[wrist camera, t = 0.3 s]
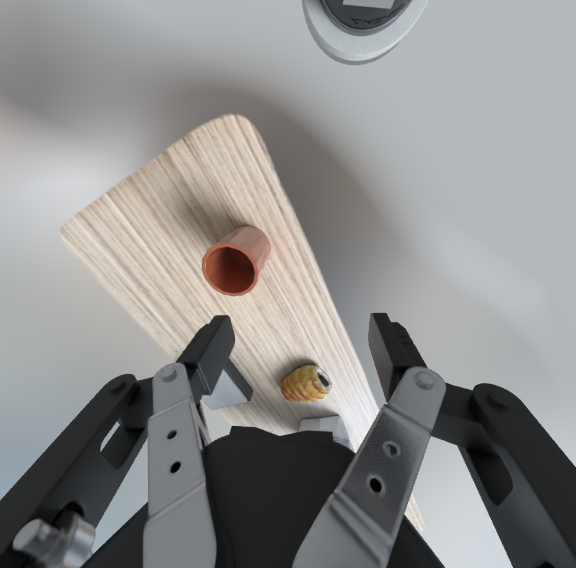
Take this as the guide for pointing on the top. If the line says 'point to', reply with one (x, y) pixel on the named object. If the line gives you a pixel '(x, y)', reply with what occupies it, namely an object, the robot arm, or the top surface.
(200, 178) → the top surface
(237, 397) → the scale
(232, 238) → the terracotta flower pot
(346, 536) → the robot arm
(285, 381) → the pastry
